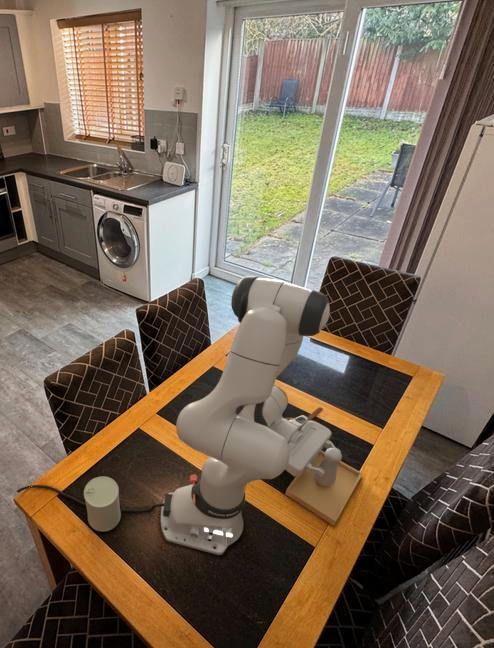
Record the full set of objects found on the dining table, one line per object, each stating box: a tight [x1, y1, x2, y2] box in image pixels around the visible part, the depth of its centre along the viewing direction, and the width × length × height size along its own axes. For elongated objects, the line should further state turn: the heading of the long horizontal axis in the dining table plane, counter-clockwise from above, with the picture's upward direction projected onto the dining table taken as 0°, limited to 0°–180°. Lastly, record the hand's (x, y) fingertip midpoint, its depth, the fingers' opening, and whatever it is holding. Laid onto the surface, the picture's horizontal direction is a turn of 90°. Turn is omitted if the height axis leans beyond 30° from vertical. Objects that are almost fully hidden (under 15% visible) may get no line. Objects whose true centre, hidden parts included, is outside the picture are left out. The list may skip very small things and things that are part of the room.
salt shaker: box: [314, 447, 343, 487], centre depth 115 cm, size 6×6×13 cm
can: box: [83, 475, 122, 532], centre depth 108 cm, size 9×9×12 cm
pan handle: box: [306, 406, 324, 421], centre depth 138 cm, size 11×1×1 cm, turn 130°
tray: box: [284, 450, 364, 527], centre depth 118 cm, size 20×14×2 cm
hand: (331, 464), depth 114 cm, fingers open, 8 cm apart
